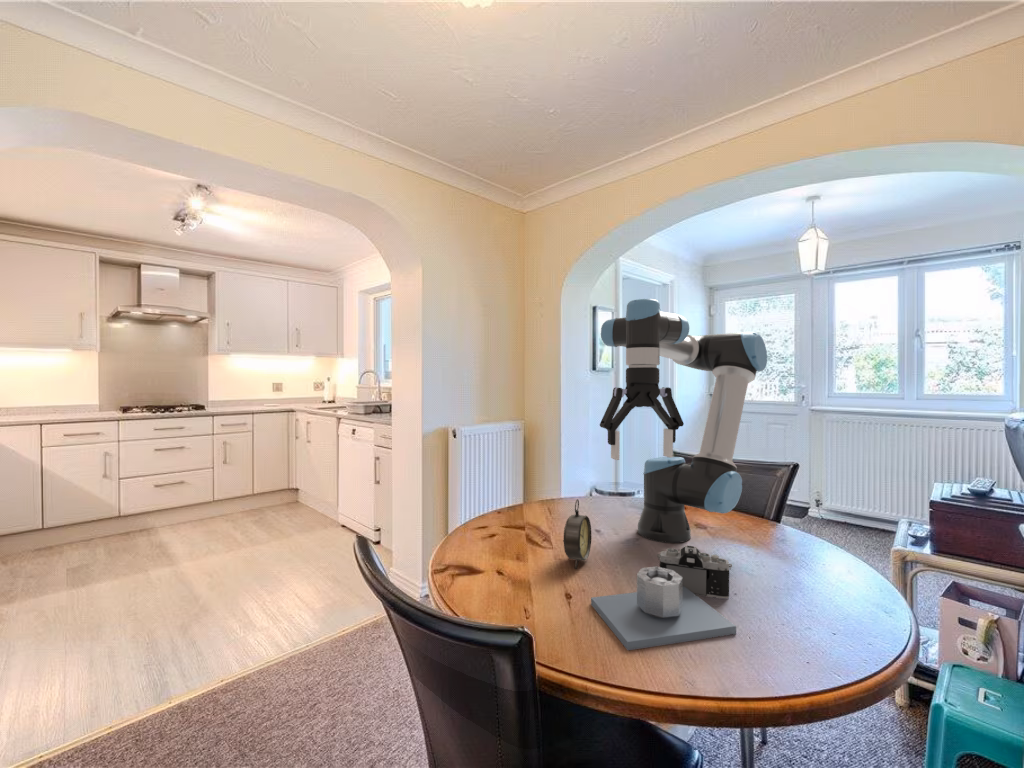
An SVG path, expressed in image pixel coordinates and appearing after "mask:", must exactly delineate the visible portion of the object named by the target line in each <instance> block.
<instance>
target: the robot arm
mask: <svg viewBox="0 0 1024 768" xmlns="http://www.w3.org/2000/svg"><path fill="white" fill-rule="evenodd" d="M625 312H626V313H625V314H626V315H625V317H620V318H618V317H615V318H610V319H607V320H605V321H604V322H603V323H602V325H601V328H600V339H601V341H602V343H603V344H604V345H605V346H607V347H614V348H617V347H624V348H626V349H625V365H626V366H628V367H626V369H625V384H626V386H625V388H622V387H613V389H612V395H611V396H612V397H611V399H610V401H609V404H608V405H607V407H606V410H605V411H604V415H603V416H602V418H601V421H600V423H599V426H600V428H602V429H605V430H607V444H608V445H610V458H611V459H612V460H616V461H619V460H620V431H619V430H617V429H618V428H619V427H620V426H621V424H622V423H623V421H624V420H625V419H626V418H627V416H628V415H629V414H630V413H631V411H632V410H633V409H635V408H642V407H646V408H652V410H653V411H654V412H655V414H656V415H657V416H658V417H659V419H660V420H661V421H662V423H663V424H664V425H665V427H666V428H663V443H662V444H663V445H662V446H663V449H662V450H663V456H662V457H661V456H660V457H653V458H649V459H648V458H647V460H646V461H645V462H644V464H643V465H644V466H643V467H644V468H643V474H642V475H643V508H642V511H641V514H640V517H639V520H638V524H637V533H638V534H639V536H641V537H643V538H645V539H647V540H651V541H654V542H660V543H666V544H667V543H668V544H669V543H670V544H674V543H675V544H676V543H683V542H684V543H685V542H687V541H689V540H690V539H691V532H692V531H691V527H690V523H689V520H688V517H687V514H686V511H685V506H688V507H692V508H696V509H700V510H704V511H707V512H709V513H717V514H727V513H730V512H731V511H732V510H734V509H735V507H736V506H737V504H738V502H739V500H740V498H741V494H742V491H743V485H742V484H743V478H742V476H741V474H740V473H738V472H737V470H738V469H737V468H738V467H737V466H736V464H735V463H734V462H733V458H734V454H735V448H736V444H737V439H738V433H739V429H740V424H741V419H742V414H743V409H744V405H745V401H746V395H747V390H748V385H749V384H750V383H752V382H753V381H754V380H755V379H756V376H757V373H759V372H763V371H764V370H765V369H766V367H767V364H768V352H767V347H766V343H765V341H764V339H763V337H762V336H761V334H759V333H758V332H755V331H741V332H730V333H728V332H727V333H717V334H715V333H711V334H702V335H691V334H689V333H690V325H689V324H690V323H689V321H688V319H687V318H686V317H684V316H683V315H681V314H677V313H676V312H665V311H661V304H660V302H659V300H657V299H653V298H639V299H633V300H630V301H628V303H627V304H626V311H625ZM660 357H662V358H667V359H670V360H672V361H673V362H674V363H675V364H677V365H680V366H685V367H687V368H691V369H694V370H695V369H696V370H699V371H704V372H712V374H713V376H714V377H715V378H716V379H715V383H714V387H713V391H712V396H711V401H710V405H709V409H708V414H707V418H706V422H705V427H704V433H703V437H702V441H701V445H700V450H699V453H697V454H695V455H694V456H692V459H691V462H690V463H691V464H687V463H686V460H685V458H684V457H680V456H674V455H673V454H674V453H673V451H674V446H673V445H674V443H676V436H677V435H676V433H677V432H676V431H678V429H679V428H680V427H683V426H684V421H683V418H682V416H681V414H680V412H679V409H678V407H677V404H676V403H675V400H674V398H673V394H672V388H671V387H668V386H667V387H666V386H665V387H661V388H660V387H659V383H660V369H659V367H658V366H659V365H660V363H661V362H660V361H661V360H660ZM624 396H625V397H626V399H625V401H624V402H623V404H622V406H621V407H620V409H619V410H618V408H619V406H620V403H621V401H622V398H624ZM659 396H660V397H661V399H662V401H663V404H664V406H665V408H666V410H667V411H666V410H665V408H664V407H663V406H662V403H661V402H660V400H659V399H658V398H659ZM617 410H618V411H617ZM616 412H617V413H616Z"/></svg>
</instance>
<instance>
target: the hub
mask: <svg viewBox="0 0 1024 768" xmlns="http://www.w3.org/2000/svg"><path fill="white" fill-rule="evenodd" d="M655 577H659V578H664V579H666V580H667V581H664V582H661V581H657V580H652V578H655ZM636 592H637V605H638V606H639V607H640V608H641V609H642V610H643V611H644V612H645V613H648V614H652V615H656V616H659V617H663V618H664V617H671V616H679V614H680V612H681V610H682V603H683V577H681V576H680V575H679V574H677V573H676V572H675V571H673V570H670V569H665V568H661V567H660V566H649V567H641V568H640V569H639V571H637V574H636Z"/></svg>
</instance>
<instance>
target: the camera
mask: <svg viewBox="0 0 1024 768" xmlns="http://www.w3.org/2000/svg"><path fill="white" fill-rule="evenodd" d="M656 557H657V558H658V560H659V567H661V568H665V569H670V570H673V571H675V572H676V573H677V574H679V575H680V576H681V577H683V586H685V587H686V588H687V589H688V590H690V591H691V592H692V593H694V594H695V595H696V596H700V597H701V596H702V597H707V596H708V598H713V597H716V598H715V599H720V598H728V599H729V598H730V570H731V568H732V567H733V565H732V563H729V560H728V559H725V558H720V557H719V556H718V555H716V554H712V555H710V554H709V553H706V552H701V551H700V550H699V549H698V548H697V547H696V546H694V545H684V546H683V547H681V548H680V549H679V550H678V549H676V548H675V547H674V548H672V547H670V548H667V549H666V550H663V551H660V554H659V553H658V554H657V556H656Z"/></svg>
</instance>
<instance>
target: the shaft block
mask: <svg viewBox="0 0 1024 768" xmlns="http://www.w3.org/2000/svg"><path fill="white" fill-rule="evenodd" d="M652 580H657V581H661V582H664V581H667V580H666V579H664V578H659V577H655V578H652ZM590 605H591V607H593V609H594V610H595V611H596V612H597V614H598V615H599V617H600V618H601V619H602V621H604V623H605V624H606V625H607V627H609V629H610V630H611V631H612V633H613V634H614V635H615V637H616V638H617V639H618V640H619V642H620V643H621V645H622V646H624V648H625V649H626V651H632V650H633V651H634V650H639V649H645V648H646V649H647V648H652V647H653V648H654V647H658V646H659V647H660V646H666V645H672V644H678V643H679V644H680V643H687V642H692V641H700V640H705V639H706V638H707V639H713V638H718V636H720V637H725V636H724V635H726V636H731V635H730V634H733V635H736V634H737V625H736V624H734V623H733V622H732V621H730V620H729V619H728V618H727V617H726V616H724V615H722V614H721V613H720V612H719V611H718V610H716V609H715V608H713V606H711V605H709V604H708V603H707V602H705V600H704V599H701V598H700V596H699V595H695V594H694V593H692V592H691V591H690V590H688V589H687V588H686V587H685V586H683V603H682V610H681V612H680V614H679V616H671V617H664V618H663V617H659V616H656V615H652V614H648V613H645V612H644V611H643V610H642V609H641V608H640V607H639V606H638V605H637V591H635V592H625V593H617V594H609V595H602V596H593V597H591V598H590ZM712 637H713V638H712Z"/></svg>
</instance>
